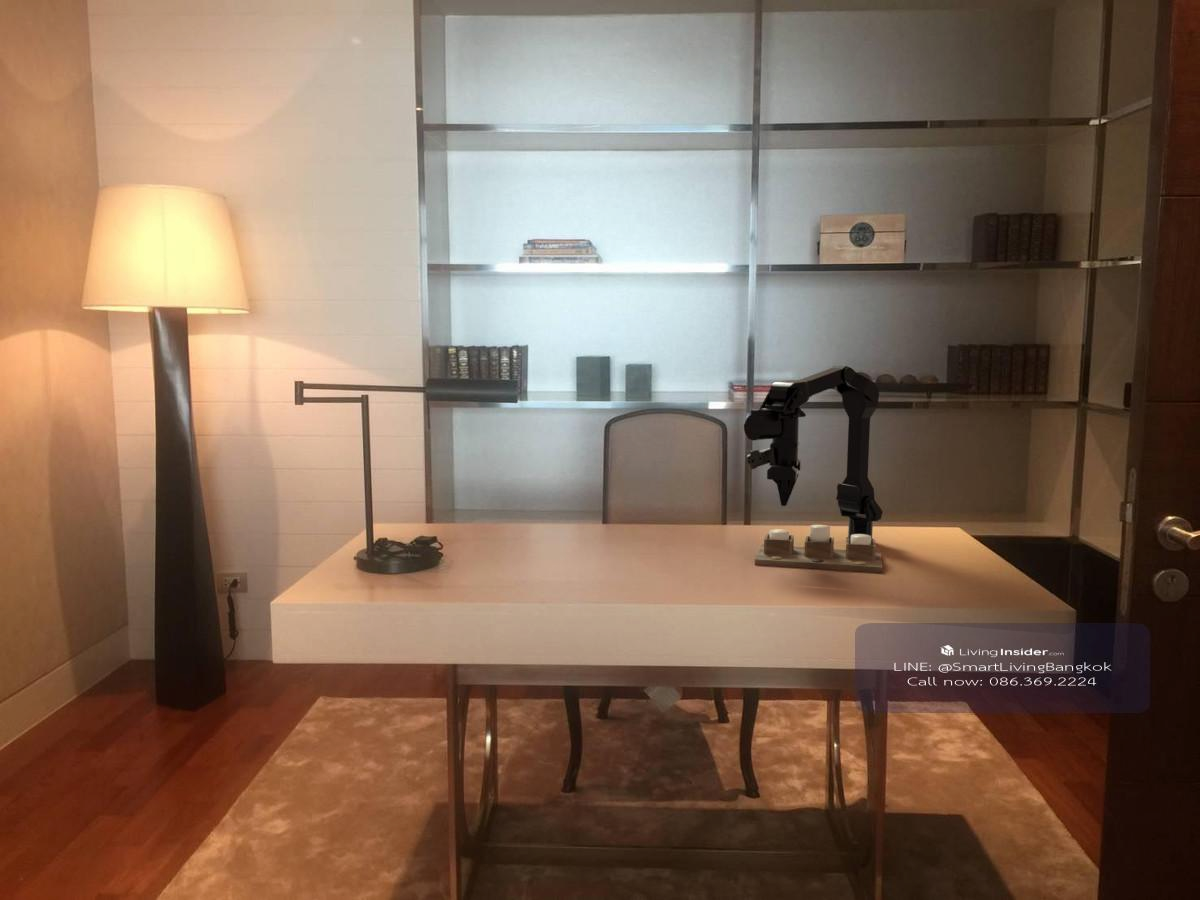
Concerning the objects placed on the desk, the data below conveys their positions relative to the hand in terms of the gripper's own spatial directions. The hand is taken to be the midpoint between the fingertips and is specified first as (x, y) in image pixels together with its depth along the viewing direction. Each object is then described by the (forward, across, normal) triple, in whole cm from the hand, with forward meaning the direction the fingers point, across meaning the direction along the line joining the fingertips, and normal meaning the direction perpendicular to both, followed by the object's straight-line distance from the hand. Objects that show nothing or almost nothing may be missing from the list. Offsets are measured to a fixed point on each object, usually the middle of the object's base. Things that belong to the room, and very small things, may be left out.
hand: (783, 505), depth 214 cm
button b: (+8, 0, +8) cm, 12 cm away
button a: (+10, 0, +17) cm, 20 cm away
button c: (+10, 0, -1) cm, 10 cm away
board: (+12, +2, +8) cm, 14 cm away
